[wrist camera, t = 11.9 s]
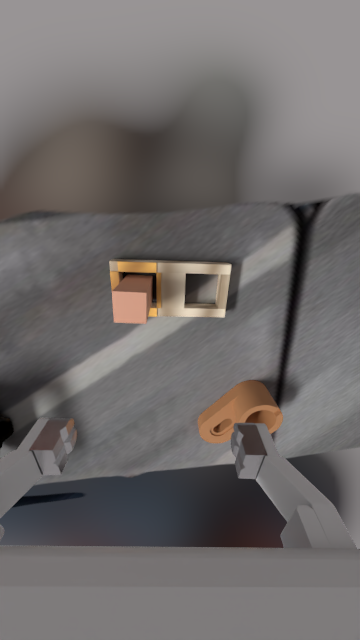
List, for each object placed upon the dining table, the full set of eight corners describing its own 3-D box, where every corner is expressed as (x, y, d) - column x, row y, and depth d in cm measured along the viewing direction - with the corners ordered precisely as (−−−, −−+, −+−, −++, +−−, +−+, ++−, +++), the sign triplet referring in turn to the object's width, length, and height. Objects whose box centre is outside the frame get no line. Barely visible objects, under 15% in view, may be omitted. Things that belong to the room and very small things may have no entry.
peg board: (227, 262, 33) (231, 265, 31) (221, 311, 37) (224, 317, 34) (113, 258, 32) (108, 261, 30) (118, 309, 36) (114, 315, 33)
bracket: (250, 373, 43) (264, 398, 36) (274, 393, 45) (291, 419, 39) (190, 421, 47) (193, 451, 41) (215, 437, 50) (221, 467, 44)
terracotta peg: (152, 275, 34) (146, 292, 24) (152, 299, 35) (146, 323, 26) (127, 274, 33) (111, 291, 24) (128, 298, 35) (113, 322, 26)
